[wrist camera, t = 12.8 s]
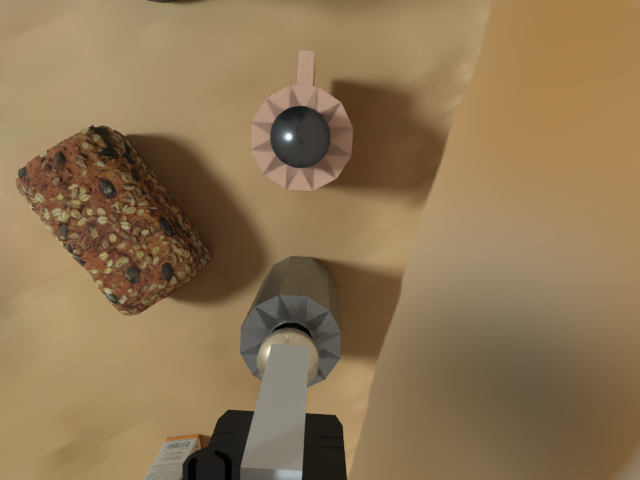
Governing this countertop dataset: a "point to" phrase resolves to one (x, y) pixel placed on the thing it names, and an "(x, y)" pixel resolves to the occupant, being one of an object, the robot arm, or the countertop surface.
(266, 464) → the robot arm
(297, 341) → the steel plunger
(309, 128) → the glossy charcoal round knob
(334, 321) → the faceted cylinder
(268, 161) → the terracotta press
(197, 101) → the countertop surface
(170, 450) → the supplement box
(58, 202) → the bread
